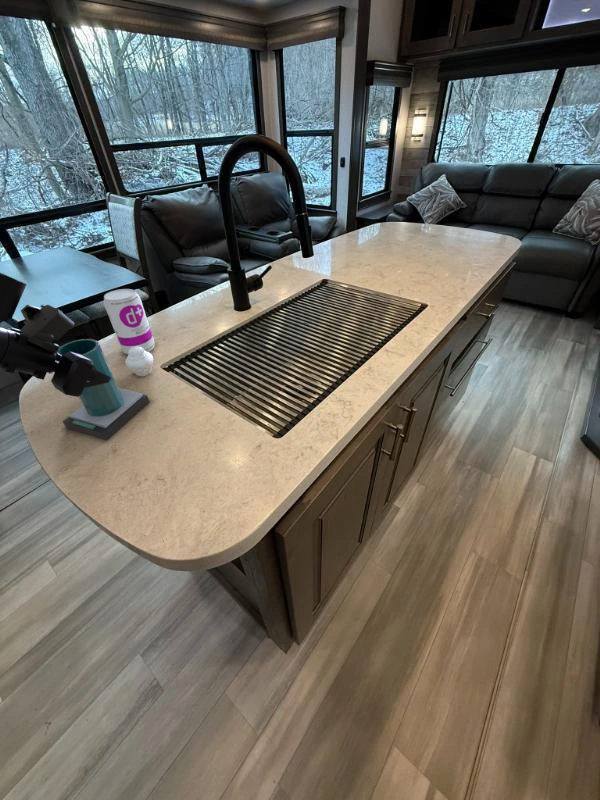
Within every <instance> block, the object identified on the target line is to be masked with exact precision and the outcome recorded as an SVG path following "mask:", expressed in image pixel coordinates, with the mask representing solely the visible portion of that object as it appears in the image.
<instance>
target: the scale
mask: <svg viewBox="0 0 600 800" xmlns="http://www.w3.org/2000/svg"><path fill="white" fill-rule="evenodd" d="M118 388H119V390H120V393H121V395H122V398H123V404H122V406H121V407H120V408H119V409H118V410H116V411H115V412H113V413H111V414H108V415H104V416H91V415H89V414H88V413H87V411H86V410H85V408H84V406H83V405H81V406H80V407H79V408H77V409H76V410H74V411H73V412H72V413H70V414H69V415H68V416H67V418H65V419H64V420H62V423H63V425H64V426H65V428H66V430H70V431H72V432H76V433H79V434H82V435H86V436H90V437H93V438H96V439H100V440H103V441H109V440H110V439H111V438H113V436H114V435H115V434H117V432H119V431H120V430H121V429H122V428H123V427H124V426H125V425H127V424H128V423H129V422H130V421H131V420H132V419H134V418H135V416H137V414H139V413H140V412H141V411H143V409H144V408H146V407H147V406H148V405H149V404H150V403H151V401H150V400H149V397H148V395H147V394H144V393H141V392H137V391H134V390H129V389H125V388H120V387H118Z"/></svg>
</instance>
